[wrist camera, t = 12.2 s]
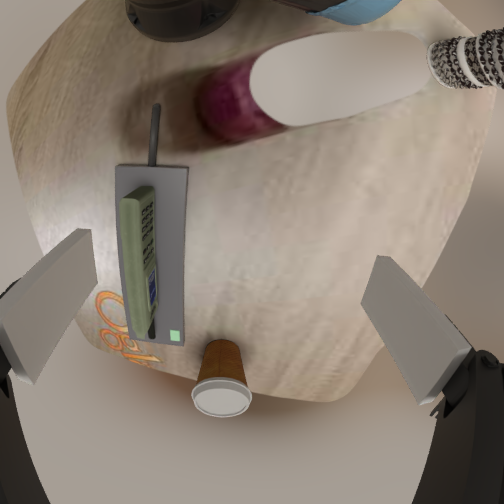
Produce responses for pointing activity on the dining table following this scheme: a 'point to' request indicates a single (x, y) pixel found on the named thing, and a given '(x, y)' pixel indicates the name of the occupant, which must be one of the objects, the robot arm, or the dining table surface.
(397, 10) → the dining table surface
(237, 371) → the disposable coffee cup
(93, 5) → the dining table surface
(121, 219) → the handheld radio
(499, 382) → the robot arm
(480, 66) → the decorative candle
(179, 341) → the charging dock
